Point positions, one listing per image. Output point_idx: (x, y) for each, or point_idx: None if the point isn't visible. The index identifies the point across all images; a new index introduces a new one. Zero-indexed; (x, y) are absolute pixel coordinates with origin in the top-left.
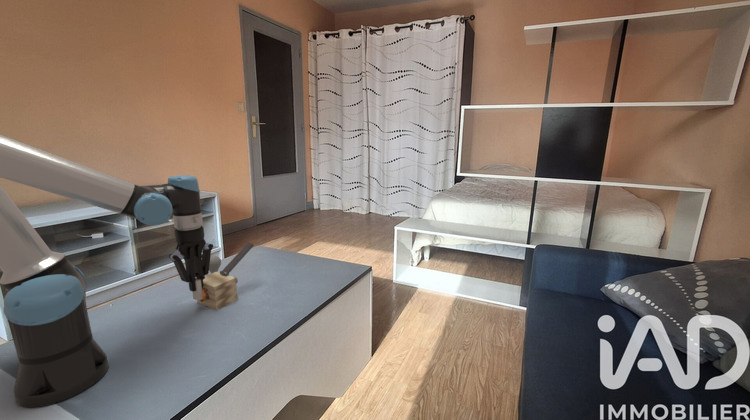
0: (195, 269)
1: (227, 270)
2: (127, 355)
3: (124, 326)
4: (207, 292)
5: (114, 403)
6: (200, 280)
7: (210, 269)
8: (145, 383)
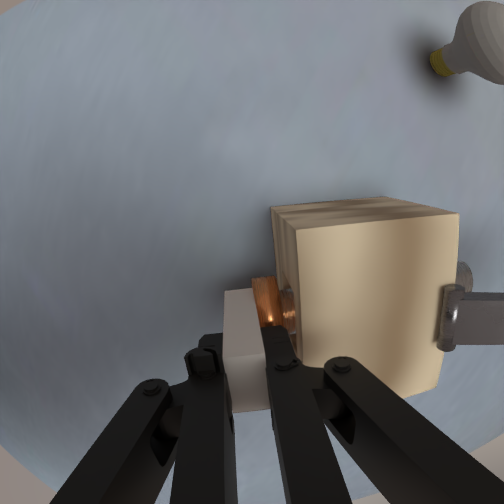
0: (276, 430)
1: (469, 338)
2: (6, 353)
3: (10, 172)
4: (294, 333)
5: (11, 446)
6: (267, 406)
7: (462, 56)
8: (43, 453)
